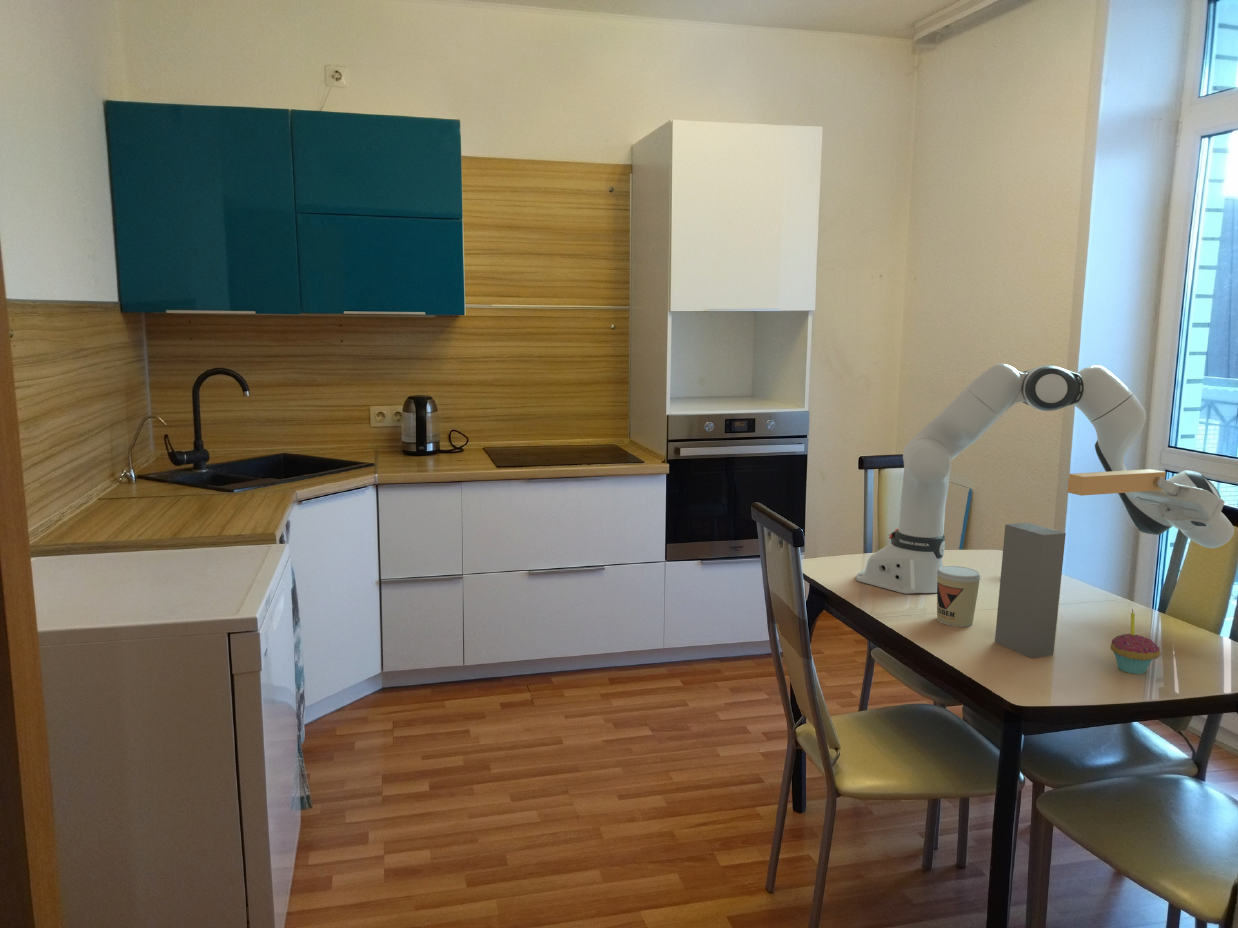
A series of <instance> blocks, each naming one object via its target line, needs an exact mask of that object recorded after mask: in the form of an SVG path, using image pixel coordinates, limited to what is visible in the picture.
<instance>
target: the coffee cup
mask: <svg viewBox="0 0 1238 928" xmlns="http://www.w3.org/2000/svg"><path fill="white" fill-rule="evenodd" d="M937 575H938V576H937V593H936V619H937V622H939V623H941V624H944V625H946V626H950V627H958V628H959V627H961V628H964V627H971V626H972V625H973V623H974V617H975V611H976V605H977V599H978V594H979V587H980V586H979V585H980V580H981V577H982V576H981V575H980V572H979V571H978V570H977V569H973V568H970V567H965V566H958V565H944V566H943V567H940V568H939V569H938V571H937Z"/></svg>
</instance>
